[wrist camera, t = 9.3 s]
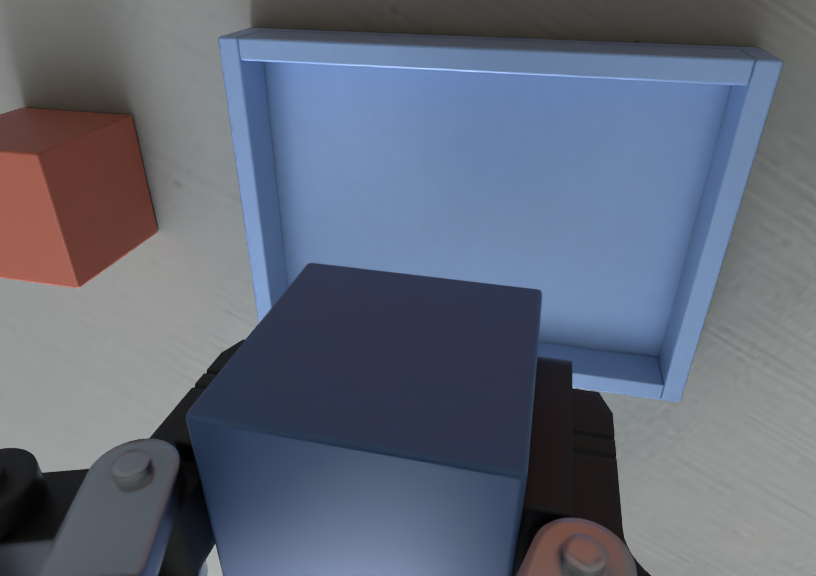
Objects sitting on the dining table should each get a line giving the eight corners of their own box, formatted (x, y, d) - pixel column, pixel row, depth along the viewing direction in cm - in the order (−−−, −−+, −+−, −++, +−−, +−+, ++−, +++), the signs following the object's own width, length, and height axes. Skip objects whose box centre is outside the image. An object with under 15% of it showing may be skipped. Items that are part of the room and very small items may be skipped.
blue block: (322, 432, 14) (230, 616, 10) (307, 260, 11) (181, 413, 8) (519, 466, 13) (497, 682, 9) (543, 288, 11) (528, 476, 7)
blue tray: (282, 312, 23) (260, 342, 22) (249, 27, 18) (216, 36, 16) (671, 365, 21) (680, 403, 19) (761, 47, 15) (784, 60, 14)
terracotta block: (58, 220, 24) (-37, 273, 20) (23, 106, 21) (-92, 142, 18) (158, 232, 23) (79, 289, 19) (132, 114, 21) (36, 153, 17)
